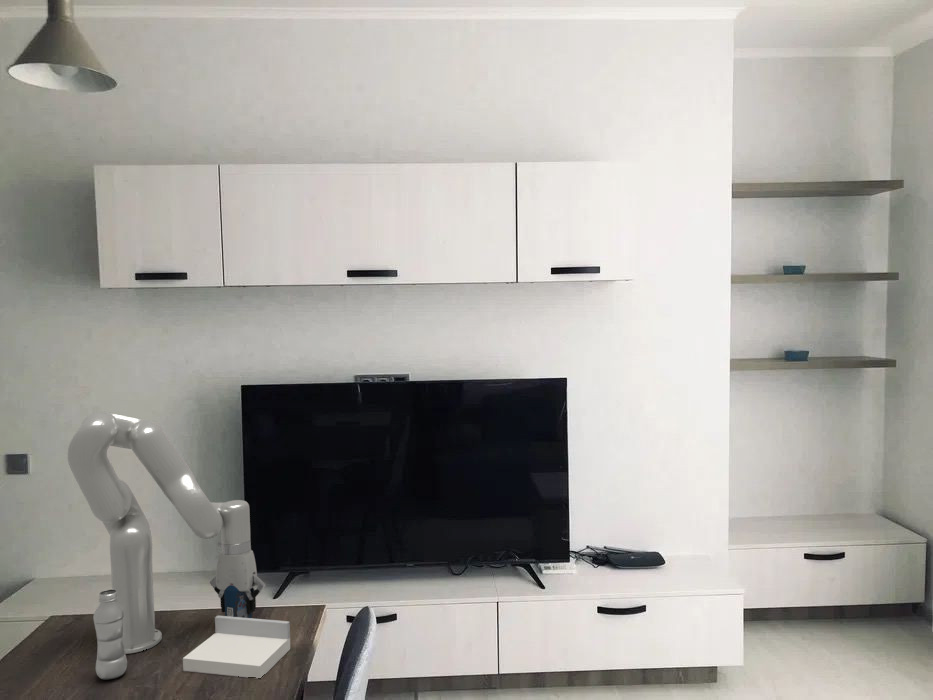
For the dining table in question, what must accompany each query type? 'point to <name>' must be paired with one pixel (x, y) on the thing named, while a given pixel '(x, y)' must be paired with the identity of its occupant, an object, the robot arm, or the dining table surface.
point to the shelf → (240, 647)
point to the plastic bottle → (109, 636)
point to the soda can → (235, 602)
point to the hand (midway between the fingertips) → (238, 610)
